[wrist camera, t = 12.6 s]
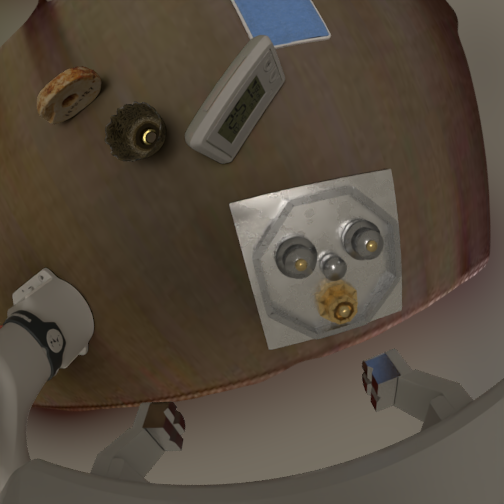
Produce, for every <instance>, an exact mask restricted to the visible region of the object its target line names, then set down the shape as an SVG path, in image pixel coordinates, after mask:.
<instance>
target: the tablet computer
mask: <svg viewBox="0 0 504 504" xmlns="http://www.w3.org/2000/svg"><path fill="white" fill-rule="evenodd" d="M231 2H232V4H233V6H234V7H235V9H236V11H237V13H238V15H239V17H240V19H241V21H242V24H243V26H244V28H245V30H246V32H247V33H248V36H249V38H250V40H251V39H252V38H254V37H256V36H258V35H266V36H268V37H269V38H270V40H271V42H272V43H273V45H274V47H275V49H278V48H283V47H287V46H292V45H297V44H303V43H308V42H315V41H322V40H328V39H330V36H331V34H330V32H329V30H328V28H327V26H326V24H325V23H324V21H323V19H322V17H321V16H320V14H319V12H318V11H317V9H316V7H315V6H314V4H313V2H312V1H311V0H231Z"/></svg>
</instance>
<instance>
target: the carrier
mask: <svg viewBox="0 0 504 504" xmlns="http://www.w3.org/2000/svg"><path fill="white" fill-rule="evenodd" d="M229 205H230V209H231V213H232V216H233V220H234V224H235V227H236V231H237V235H238V239H239V242H240V246H241V250H242V253H243V257H244V261H245V264H246V268H247V272H248V275H249V279H250V283H251V286H252V290H253V294H254V297H255V301H256V305H257V308H258V312H259V315H260V319H261V323H262V326H263V330H264V333H265V337H266V341H267V344H268V348H269V350H272V349H276V348H280V347H284V346H288V345H292V344H296V343H300V342H304V341H307V340H311V339H320V338H324V337H327V336H331V335H334V334H337V333H341V332H344V331H347V330H350V329H353V328H357V327H360V326H363V325H366V324H367V322H370V321H373V320H375V319H378V318H381V317H384V316H387V315H390V314H392V313H395V312H398V311H400V310H402V274H401V251H400V236H399V225H398V215H397V206H396V198H395V191H394V184H393V178H392V172H391V169H383V170H377V171H372V172H366V173H361V174H356V175H350V176H345V177H340V178H335V179H330V180H325V181H320V182H316V183H311V184H306V185H302V186H297V187H293V188H289V189H284V190H280V191H276V192H271V193H267V194H263V195H259V196H255V197H251V198H247V199H243V200H239V201H235V202H231V203H229ZM341 279H342V280H343V281H345V282H346V283H348V284H349V285H351V286H353V287H354V288H355V289H356V290H357V302H358V305H357V311H358V312H357V313H356V315H355V316H354V317H353V319H352V320H351V321H350V322H347V323H343V324H340V325H339V324H337V323H335V322H331V321H329V320H327V319H325V318H323V317H321V316H320V315H319V313H318V308H317V302H316V296H317V295H318V294H319V292H320V291H321V289H322V288H323V287H324V285H325V284H327V283H330V282H334V281H338V280H341ZM335 308H336V309H337V310H338V312H339V313H340V315H341V316H342V317H347V316H348V315H349V314H350V309H349V308H348V306H347V305H346V303H345V302H341V303H338V305H337V306H336V307H335Z"/></svg>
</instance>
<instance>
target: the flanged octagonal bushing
mask: <svg viewBox="0 0 504 504" xmlns="http://www.w3.org/2000/svg"><path fill="white" fill-rule="evenodd" d="M316 302H317V308H318V313H319V315H320V316H321V317H323V318H325V319H327V320H329V321H331V322H335V323H337V324H339V325H340V324H343V323H347V322H350V321H351V320H352V319H353V317H354V316H355V315H356V313H357V312H358V311H357V305H358V302H357V290H356V289H355V288H354V287H353V286H351V285H349V284H348V283H346V282H345V281H343V280H342V279H341V280H338V281H334V282H330V283H327V284H325V285H324V287H323V288H322V289H321V291H320V292H319V294H318V295H317V296H316ZM341 302H345V303H346V305H347V306H348V308H349V309H350V314H349V315H348V316H347V317H342V316H341V315H340V313H339V312H338V310H337V309H336V308H335V307H336V306H337V305H338V303H341Z"/></svg>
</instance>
